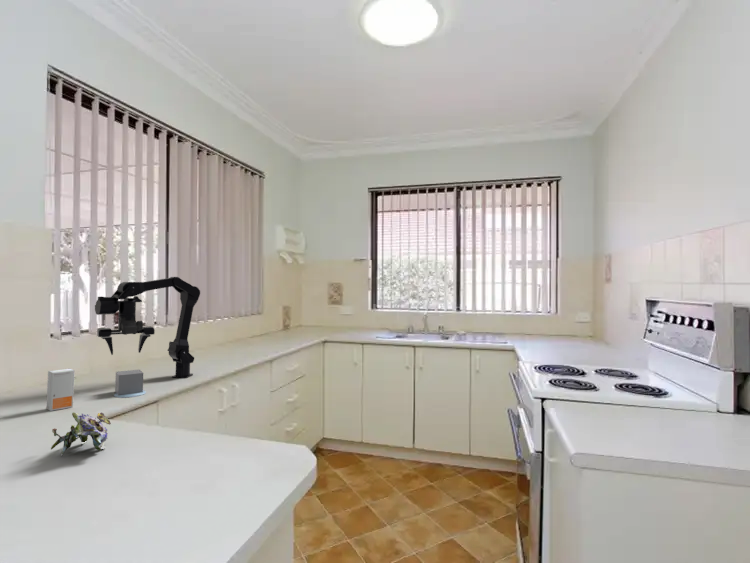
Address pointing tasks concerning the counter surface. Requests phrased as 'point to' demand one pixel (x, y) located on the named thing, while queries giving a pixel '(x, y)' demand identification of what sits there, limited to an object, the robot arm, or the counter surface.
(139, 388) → the matte grey cuboid
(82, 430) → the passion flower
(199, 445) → the counter surface
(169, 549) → the counter surface
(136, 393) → the disc
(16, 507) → the counter surface
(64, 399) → the skincare box
